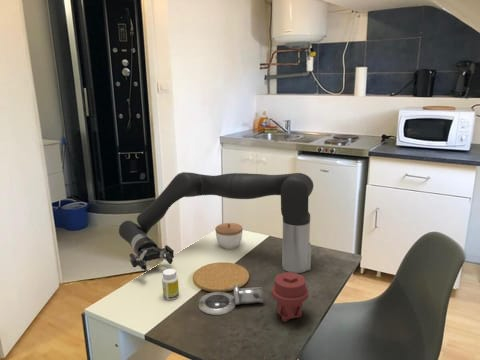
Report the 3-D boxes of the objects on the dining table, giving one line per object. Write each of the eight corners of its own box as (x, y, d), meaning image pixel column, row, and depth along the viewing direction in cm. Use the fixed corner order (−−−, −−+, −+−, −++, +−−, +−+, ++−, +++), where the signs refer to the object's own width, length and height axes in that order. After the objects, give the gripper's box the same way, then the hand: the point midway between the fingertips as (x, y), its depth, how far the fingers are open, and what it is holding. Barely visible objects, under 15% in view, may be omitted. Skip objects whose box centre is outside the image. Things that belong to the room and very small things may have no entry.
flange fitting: (260, 291, 121) (259, 275, 119) (265, 312, 110) (265, 294, 109) (198, 295, 119) (198, 279, 118) (198, 316, 109) (197, 298, 107)
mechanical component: (271, 304, 114) (306, 306, 113) (271, 325, 104) (308, 327, 103) (272, 266, 111) (307, 267, 110) (271, 284, 101) (310, 285, 100)
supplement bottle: (181, 293, 121) (180, 269, 119) (174, 301, 116) (172, 276, 114) (168, 291, 122) (166, 267, 120) (160, 299, 118) (158, 274, 116)
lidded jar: (248, 245, 155) (248, 223, 152) (229, 254, 147) (228, 231, 145) (229, 238, 162) (228, 217, 160) (210, 246, 154) (209, 224, 152)
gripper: (123, 241, 136) (135, 259, 123) (162, 233, 143) (178, 248, 129) (125, 260, 138) (137, 280, 125) (163, 251, 145) (179, 269, 131)
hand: (158, 264), depth 127 cm, fingers open, 8 cm apart
